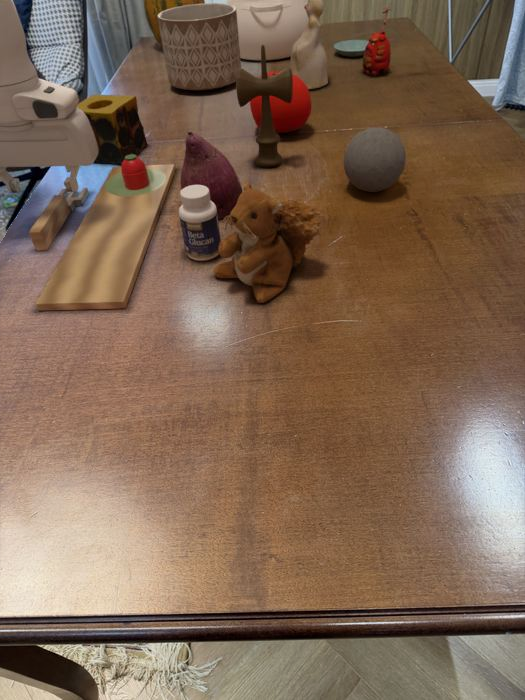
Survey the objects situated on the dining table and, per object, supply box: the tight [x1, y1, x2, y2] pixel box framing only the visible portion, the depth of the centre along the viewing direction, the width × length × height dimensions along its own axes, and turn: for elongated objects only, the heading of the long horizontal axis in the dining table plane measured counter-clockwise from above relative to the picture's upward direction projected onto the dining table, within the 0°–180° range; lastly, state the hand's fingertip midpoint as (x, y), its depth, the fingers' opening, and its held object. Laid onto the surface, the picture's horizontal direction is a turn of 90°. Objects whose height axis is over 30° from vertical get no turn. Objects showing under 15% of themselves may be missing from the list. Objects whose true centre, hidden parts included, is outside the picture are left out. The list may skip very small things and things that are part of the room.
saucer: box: [333, 39, 369, 58], centre depth 146 cm, size 12×12×2 cm
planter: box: [158, 2, 242, 92], centre depth 128 cm, size 19×19×16 cm
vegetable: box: [180, 129, 243, 221], centre depth 80 cm, size 10×10×15 cm
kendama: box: [235, 45, 293, 168], centre depth 89 cm, size 6×10×20 cm, turn 86°
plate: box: [105, 169, 166, 196], centre depth 92 cm, size 11×11×1 cm
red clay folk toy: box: [362, 3, 392, 77], centre depth 127 cm, size 8×7×15 cm
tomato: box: [249, 70, 312, 134], centre depth 104 cm, size 12×14×11 cm
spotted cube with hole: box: [76, 94, 149, 165], centre depth 101 cm, size 10×10×10 cm
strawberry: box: [120, 154, 149, 190], centre depth 89 cm, size 4×4×5 cm
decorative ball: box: [343, 126, 407, 193], centre depth 83 cm, size 10×10×10 cm
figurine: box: [289, 0, 330, 92], centre depth 123 cm, size 12×10×20 cm
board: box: [35, 163, 176, 312], centre depth 82 cm, size 12×42×1 cm, turn 178°
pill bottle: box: [178, 185, 222, 262], centre depth 72 cm, size 5×5×10 cm
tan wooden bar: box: [28, 187, 90, 251], centre depth 84 cm, size 18×5×3 cm, turn 178°
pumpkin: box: [143, 0, 206, 47], centre depth 156 cm, size 19×19×25 cm
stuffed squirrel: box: [212, 182, 324, 304], centre depth 66 cm, size 10×14×13 cm
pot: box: [226, 0, 309, 62], centre depth 148 cm, size 29×26×16 cm
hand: (44, 190), depth 81 cm, fingers open, 8 cm apart
